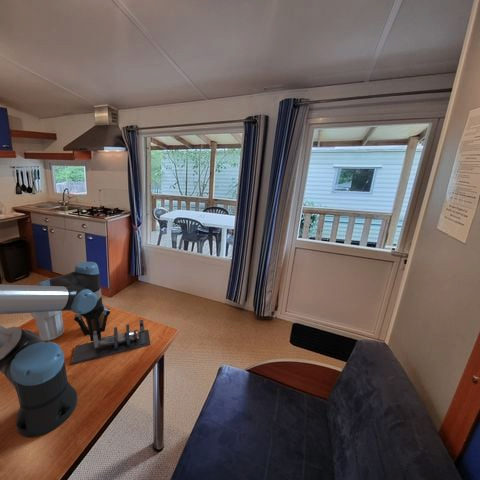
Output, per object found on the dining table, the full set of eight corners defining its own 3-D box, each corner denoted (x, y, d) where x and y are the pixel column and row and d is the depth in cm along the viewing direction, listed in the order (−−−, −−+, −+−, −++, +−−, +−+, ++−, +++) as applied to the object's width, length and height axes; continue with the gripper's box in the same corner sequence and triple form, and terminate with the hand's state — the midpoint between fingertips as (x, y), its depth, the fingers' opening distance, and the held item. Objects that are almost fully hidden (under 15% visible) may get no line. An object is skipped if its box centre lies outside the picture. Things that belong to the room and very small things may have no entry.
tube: (98, 350, 97) (97, 342, 95) (99, 343, 100) (98, 335, 99) (138, 340, 104) (138, 333, 103) (138, 334, 108) (137, 327, 106)
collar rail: (150, 344, 104) (149, 329, 102) (71, 364, 90) (68, 348, 88) (148, 331, 113) (147, 317, 110) (75, 347, 99) (73, 332, 97)
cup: (29, 342, 99) (21, 309, 94) (50, 326, 110) (44, 295, 105) (54, 344, 100) (48, 311, 95) (73, 327, 110) (68, 297, 106)
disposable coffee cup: (81, 330, 109) (77, 309, 106) (100, 320, 117) (97, 300, 114) (93, 337, 105) (90, 316, 102) (112, 326, 114) (110, 306, 110)
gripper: (109, 291, 97) (113, 336, 104) (73, 296, 91) (80, 343, 98) (108, 300, 91) (113, 347, 98) (69, 306, 85) (77, 356, 92)
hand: (96, 345), depth 98 cm, fingers closed
